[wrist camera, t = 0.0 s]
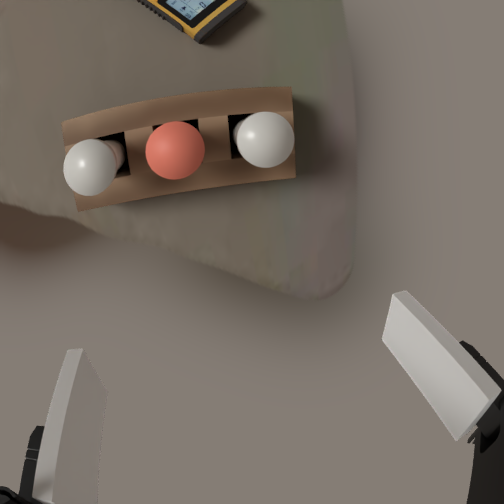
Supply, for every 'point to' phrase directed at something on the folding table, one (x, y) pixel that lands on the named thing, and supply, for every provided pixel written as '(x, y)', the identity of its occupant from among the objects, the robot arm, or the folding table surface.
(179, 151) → the red plug
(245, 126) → the grey plug
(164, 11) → the electronic device
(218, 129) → the socket block
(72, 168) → the grey plug
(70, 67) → the folding table surface
